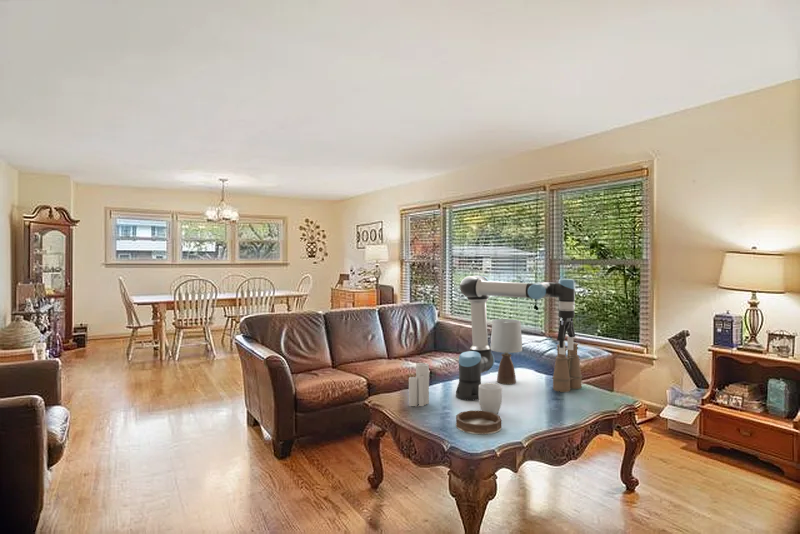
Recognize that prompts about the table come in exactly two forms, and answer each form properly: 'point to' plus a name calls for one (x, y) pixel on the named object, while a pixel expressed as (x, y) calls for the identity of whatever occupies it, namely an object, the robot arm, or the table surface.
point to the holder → (478, 422)
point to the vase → (419, 386)
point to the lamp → (506, 346)
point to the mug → (490, 397)
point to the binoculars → (567, 370)
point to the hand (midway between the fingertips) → (566, 352)
